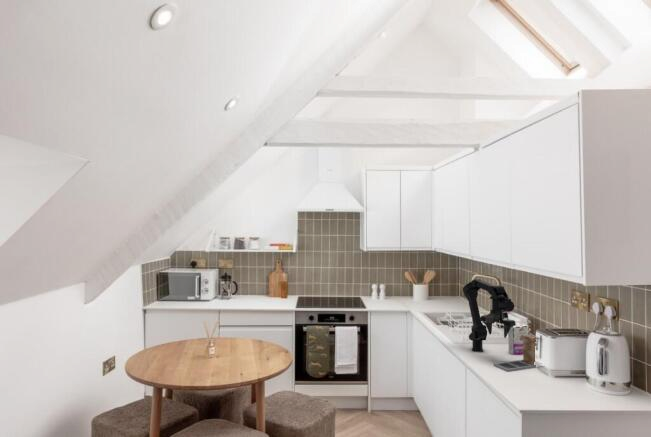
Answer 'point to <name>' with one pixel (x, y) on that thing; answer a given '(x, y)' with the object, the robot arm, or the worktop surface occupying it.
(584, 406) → the worktop surface
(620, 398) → the worktop surface
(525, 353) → the walnut block
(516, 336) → the candy bar box
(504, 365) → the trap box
